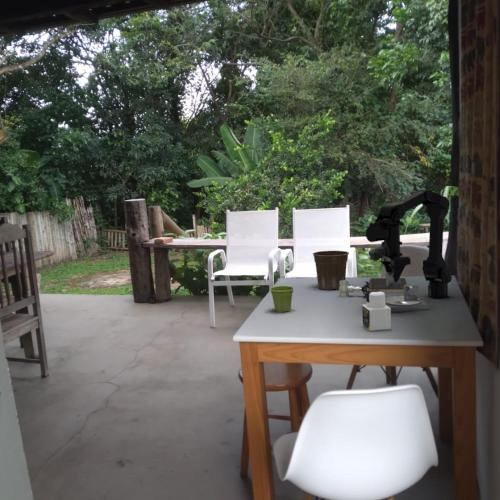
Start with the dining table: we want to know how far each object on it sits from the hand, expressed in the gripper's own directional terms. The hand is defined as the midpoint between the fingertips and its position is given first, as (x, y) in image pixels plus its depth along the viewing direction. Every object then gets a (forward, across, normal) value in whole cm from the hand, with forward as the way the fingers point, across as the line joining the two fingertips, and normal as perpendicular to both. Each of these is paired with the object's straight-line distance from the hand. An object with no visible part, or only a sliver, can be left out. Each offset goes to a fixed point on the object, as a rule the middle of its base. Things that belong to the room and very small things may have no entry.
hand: (392, 280), depth 180 cm
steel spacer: (+2, 0, 0) cm, 2 cm away
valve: (+10, -22, -8) cm, 26 cm away
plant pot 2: (+10, -43, -11) cm, 46 cm away
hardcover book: (+11, -35, +12) cm, 38 cm away
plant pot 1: (+10, -10, -40) cm, 43 cm away
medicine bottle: (+10, +22, -15) cm, 29 cm away
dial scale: (+10, 0, +2) cm, 10 cm away
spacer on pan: (+8, 0, +7) cm, 10 cm away
